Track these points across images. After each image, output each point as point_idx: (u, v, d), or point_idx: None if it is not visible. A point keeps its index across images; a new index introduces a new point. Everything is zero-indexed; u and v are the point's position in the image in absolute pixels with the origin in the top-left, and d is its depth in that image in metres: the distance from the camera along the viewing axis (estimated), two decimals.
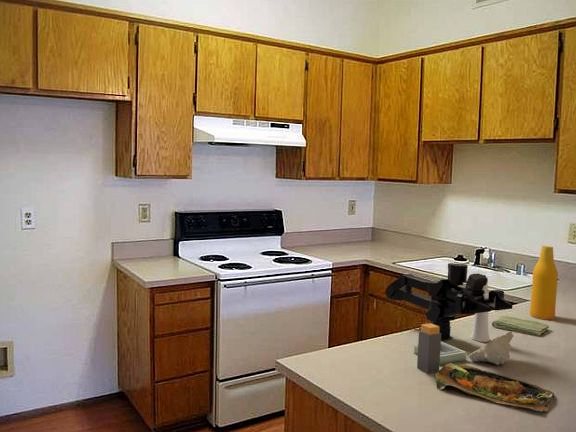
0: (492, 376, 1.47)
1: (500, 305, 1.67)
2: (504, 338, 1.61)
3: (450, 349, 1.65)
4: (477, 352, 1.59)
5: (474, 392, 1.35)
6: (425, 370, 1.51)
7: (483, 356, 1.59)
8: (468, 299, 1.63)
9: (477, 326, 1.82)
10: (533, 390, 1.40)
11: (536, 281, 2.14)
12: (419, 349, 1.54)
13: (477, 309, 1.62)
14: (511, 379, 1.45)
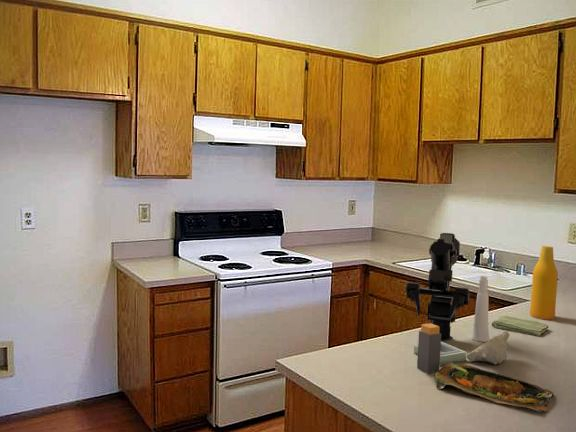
0: (492, 376, 1.47)
1: None
2: (501, 337, 1.61)
3: (450, 349, 1.65)
4: (475, 352, 1.60)
5: (473, 392, 1.35)
6: (425, 370, 1.51)
7: (481, 356, 1.59)
8: (412, 293, 1.65)
9: (477, 326, 1.82)
10: (533, 390, 1.40)
11: (536, 281, 2.14)
12: (419, 349, 1.54)
13: None
14: (511, 379, 1.45)
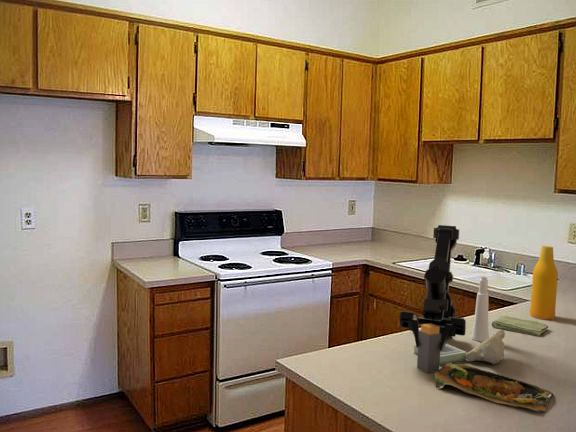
0: (491, 376, 1.47)
1: None
2: (498, 337, 1.62)
3: (450, 349, 1.65)
4: (473, 352, 1.60)
5: (473, 391, 1.36)
6: (425, 370, 1.51)
7: (479, 356, 1.59)
8: (410, 323, 1.56)
9: (477, 326, 1.82)
10: (532, 390, 1.40)
11: (536, 281, 2.14)
12: (419, 349, 1.54)
13: (414, 335, 1.56)
14: (510, 379, 1.45)
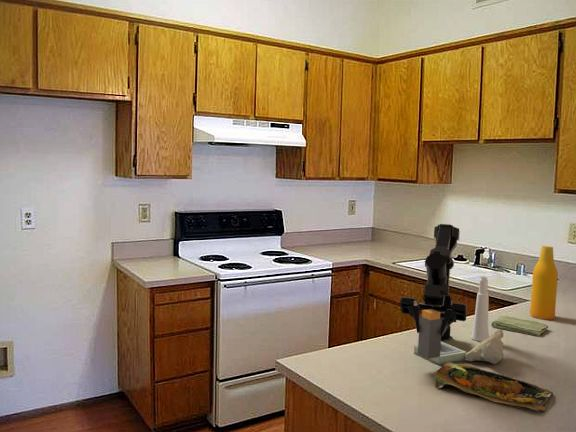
0: (491, 375, 1.47)
1: None
2: (497, 336, 1.62)
3: (450, 349, 1.65)
4: (473, 352, 1.59)
5: (472, 391, 1.36)
6: (426, 356, 1.51)
7: (479, 356, 1.59)
8: (411, 308, 1.56)
9: (477, 326, 1.82)
10: (532, 390, 1.40)
11: (536, 281, 2.14)
12: (419, 335, 1.53)
13: None
14: (510, 378, 1.45)
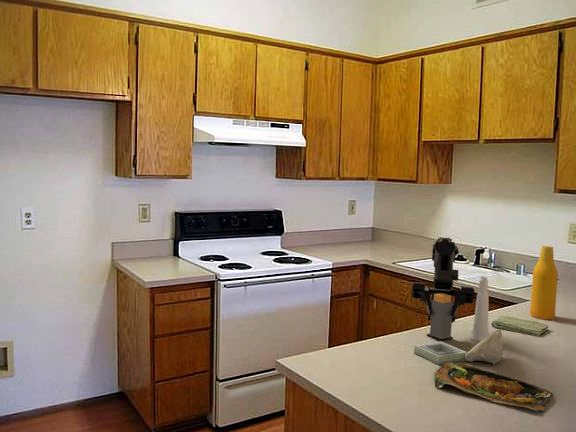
0: (491, 375, 1.47)
1: None
2: (496, 336, 1.62)
3: (450, 349, 1.65)
4: (473, 352, 1.59)
5: (472, 391, 1.36)
6: (439, 336, 1.62)
7: (479, 356, 1.59)
8: (423, 293, 1.66)
9: (477, 326, 1.82)
10: (531, 390, 1.40)
11: (536, 281, 2.14)
12: (432, 317, 1.64)
13: (426, 305, 1.66)
14: (510, 379, 1.45)
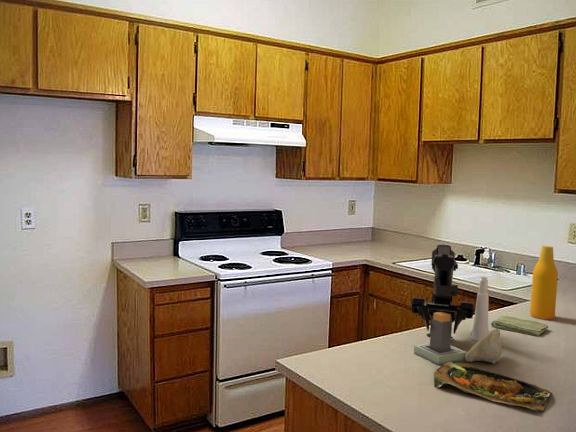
0: (491, 375, 1.47)
1: None
2: (495, 336, 1.63)
3: (450, 349, 1.65)
4: (473, 352, 1.59)
5: (471, 390, 1.36)
6: None
7: (479, 356, 1.59)
8: (421, 308, 1.67)
9: (477, 326, 1.82)
10: (531, 389, 1.40)
11: (536, 281, 2.14)
12: (431, 336, 1.65)
13: (424, 319, 1.67)
14: (510, 378, 1.45)
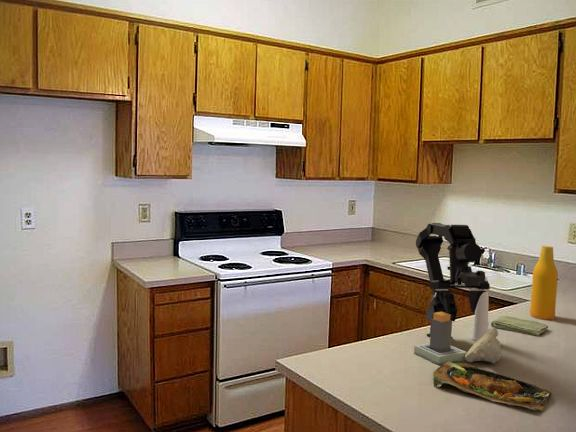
0: (490, 375, 1.48)
1: (471, 298, 1.71)
2: (494, 336, 1.63)
3: (450, 349, 1.65)
4: (474, 353, 1.59)
5: (470, 390, 1.36)
6: None
7: (479, 356, 1.59)
8: (443, 292, 1.66)
9: (477, 326, 1.82)
10: (531, 389, 1.40)
11: (536, 281, 2.14)
12: (431, 336, 1.65)
13: (442, 299, 1.68)
14: (509, 378, 1.45)
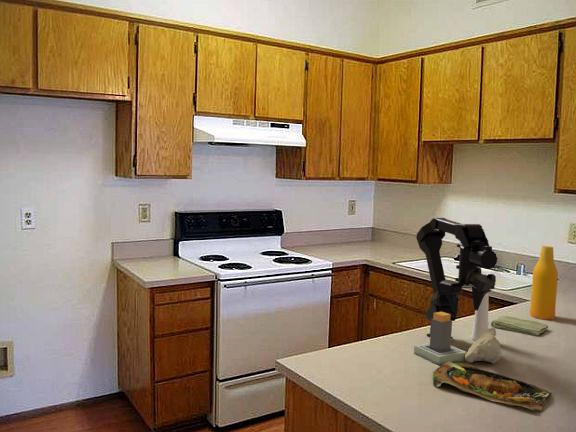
0: (490, 375, 1.48)
1: (475, 295, 1.72)
2: None
3: (450, 349, 1.65)
4: (474, 353, 1.59)
5: (469, 390, 1.36)
6: None
7: (480, 356, 1.59)
8: (454, 294, 1.64)
9: (477, 326, 1.82)
10: (530, 389, 1.40)
11: (536, 281, 2.14)
12: (431, 336, 1.65)
13: (450, 300, 1.67)
14: (509, 378, 1.45)
